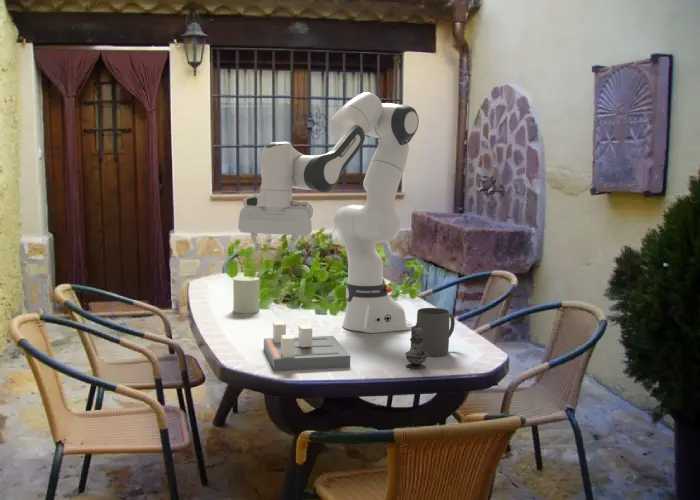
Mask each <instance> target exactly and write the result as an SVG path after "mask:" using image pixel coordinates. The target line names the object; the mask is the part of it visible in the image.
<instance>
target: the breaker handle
mask: <svg viewBox="0 0 700 500" xmlns="http://www.w3.org/2000/svg"><path fill="white" fill-rule="evenodd" d="M298 337H299V345H300V346H301V347H312V337H313V328H312V326H311V325H310V324H308V325H303V324H302V325H301V324H300V325H298Z"/></svg>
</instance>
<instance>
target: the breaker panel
mask: <svg viewBox="0 0 700 500" xmlns="http://www.w3.org/2000/svg"><path fill="white" fill-rule="evenodd" d="M286 325H287V324H286V322H285V321H284V320H283V321H273V322H272V337H270V338H263V350H264V353H265V355H266V356H267V359H268V361H269V363H270V366H271V365H272V366H271V368H272V367H273V368H272V370H273V371H274V370H280V371H296V370H297V371H298V370H313V369H314V370H315V369H316V370H317V369H334V368H339V369H340V368H350V367H351V355H350V354H349V352H348V351H347V350H346V349H345V348H344V347H343V346H342V345H341V343H340V342H339V341H338V339H336V337H335V336H334V335H321V336H320V335H319V336H318V335H317V336H312V347H301V346H300V345H299V336H298V337H297V336H295V337H294V335H293V334H287V333H286V332H287V331H286V329H287V326H286Z"/></svg>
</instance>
